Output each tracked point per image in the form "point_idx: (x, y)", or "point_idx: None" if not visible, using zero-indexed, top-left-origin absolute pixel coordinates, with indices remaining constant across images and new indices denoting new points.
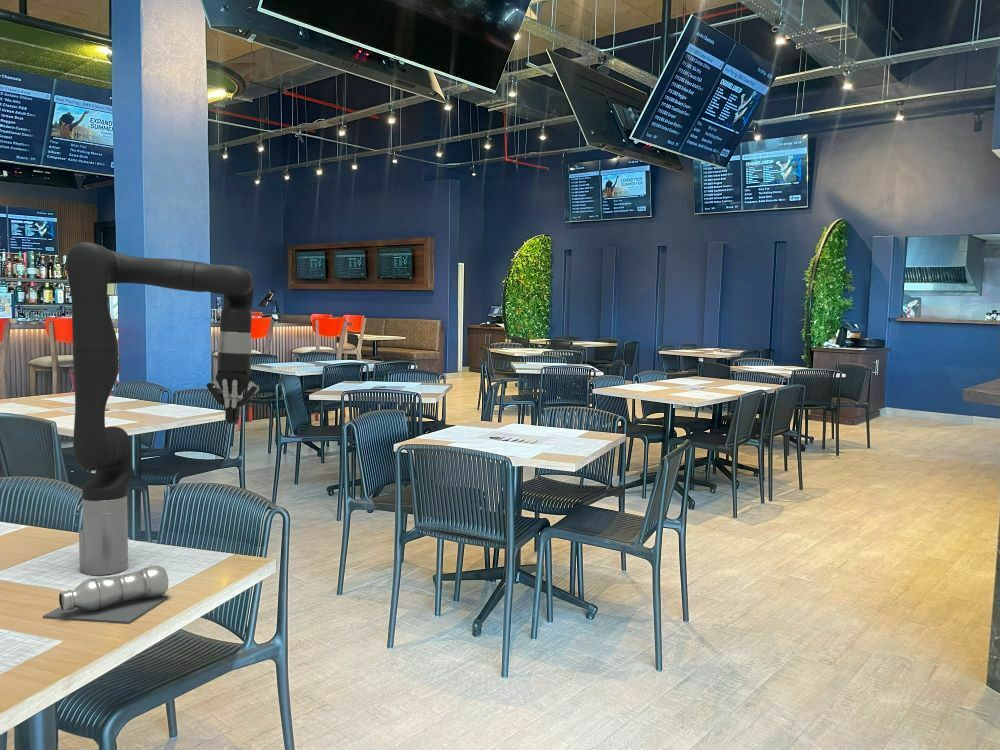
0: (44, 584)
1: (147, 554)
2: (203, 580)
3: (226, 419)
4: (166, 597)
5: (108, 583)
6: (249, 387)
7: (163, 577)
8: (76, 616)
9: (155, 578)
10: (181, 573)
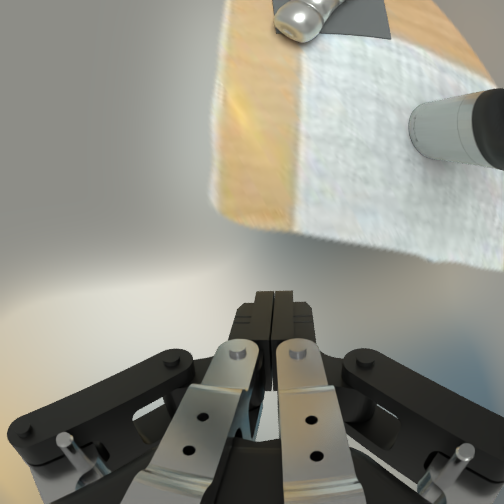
0: (458, 71)
1: (418, 207)
2: (271, 105)
3: (302, 305)
4: (276, 28)
5: None
6: (71, 469)
7: (277, 12)
8: None
9: (284, 5)
10: (323, 128)
